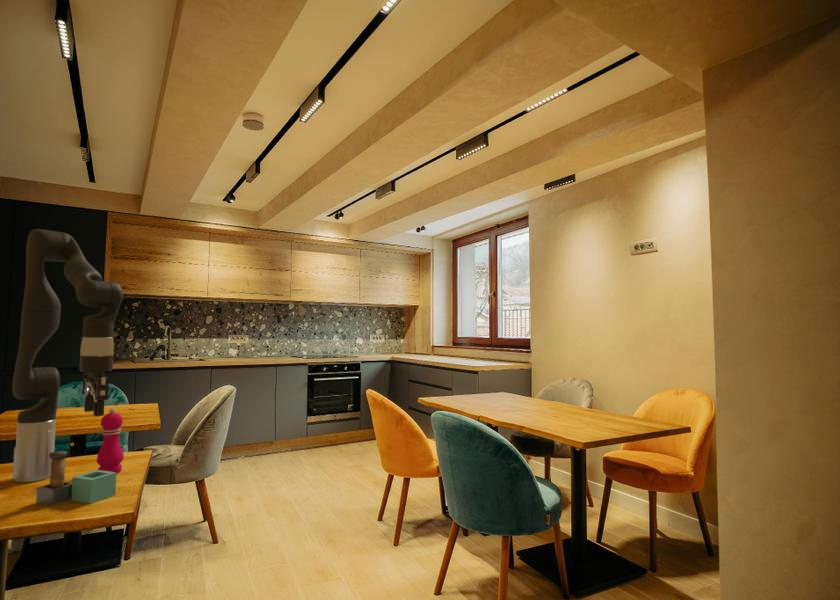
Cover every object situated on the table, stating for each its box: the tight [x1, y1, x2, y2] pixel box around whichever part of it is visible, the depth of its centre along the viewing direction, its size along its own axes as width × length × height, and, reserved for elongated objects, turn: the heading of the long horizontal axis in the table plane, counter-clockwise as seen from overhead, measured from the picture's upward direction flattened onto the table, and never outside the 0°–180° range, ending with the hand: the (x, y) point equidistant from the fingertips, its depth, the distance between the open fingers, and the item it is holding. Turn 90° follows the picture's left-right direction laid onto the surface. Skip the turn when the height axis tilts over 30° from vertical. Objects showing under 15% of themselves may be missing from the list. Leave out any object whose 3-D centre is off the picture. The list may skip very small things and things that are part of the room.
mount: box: [35, 480, 72, 507], centre depth 126 cm, size 6×6×4 cm
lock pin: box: [49, 450, 68, 489], centre depth 127 cm, size 4×4×12 cm
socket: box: [70, 469, 117, 504], centre depth 129 cm, size 7×7×6 cm
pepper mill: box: [96, 407, 125, 474], centre depth 152 cm, size 7×7×20 cm
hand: (93, 413), depth 130 cm, fingers open, 8 cm apart
